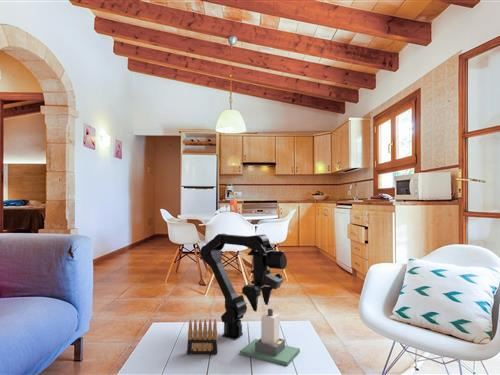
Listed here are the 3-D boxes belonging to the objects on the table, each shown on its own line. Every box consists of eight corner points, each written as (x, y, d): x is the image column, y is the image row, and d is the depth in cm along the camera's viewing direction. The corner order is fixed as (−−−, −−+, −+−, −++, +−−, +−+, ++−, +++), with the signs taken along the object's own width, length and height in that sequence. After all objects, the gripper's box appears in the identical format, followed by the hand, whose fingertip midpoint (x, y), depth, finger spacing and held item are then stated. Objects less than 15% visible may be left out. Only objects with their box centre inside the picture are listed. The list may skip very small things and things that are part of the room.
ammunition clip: (217, 352, 118) (217, 318, 119) (217, 354, 116) (217, 320, 117) (187, 352, 118) (188, 318, 119) (186, 354, 116) (187, 319, 117)
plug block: (261, 350, 117) (261, 310, 118) (266, 345, 121) (266, 306, 122) (274, 353, 115) (274, 312, 115) (279, 348, 118) (279, 308, 119)
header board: (239, 354, 117) (240, 341, 117) (255, 341, 127) (255, 330, 127) (287, 365, 108) (287, 352, 108) (299, 351, 119) (299, 339, 119)
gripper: (267, 273, 116) (268, 318, 115) (288, 264, 132) (289, 304, 132) (240, 270, 122) (241, 313, 121) (264, 262, 138) (265, 300, 137)
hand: (261, 307), depth 127 cm, fingers open, 9 cm apart
